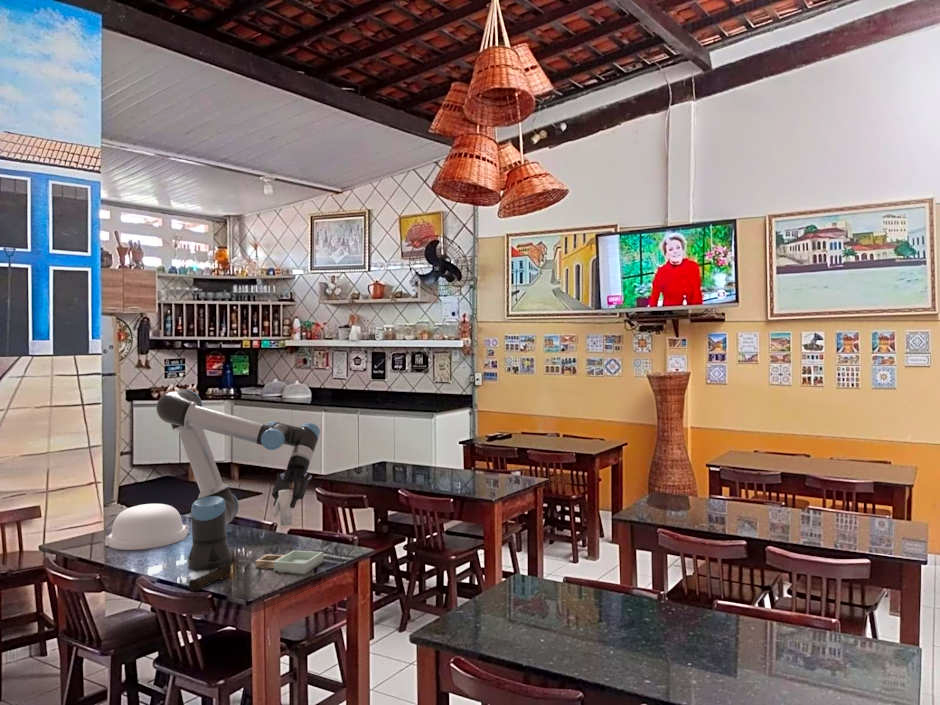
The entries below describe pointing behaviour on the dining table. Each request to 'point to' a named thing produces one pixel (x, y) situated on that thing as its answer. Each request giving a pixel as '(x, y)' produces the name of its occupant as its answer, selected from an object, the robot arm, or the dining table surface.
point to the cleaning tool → (284, 507)
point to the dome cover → (146, 527)
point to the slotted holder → (267, 561)
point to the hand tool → (210, 577)
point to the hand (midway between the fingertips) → (280, 515)
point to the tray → (298, 562)
